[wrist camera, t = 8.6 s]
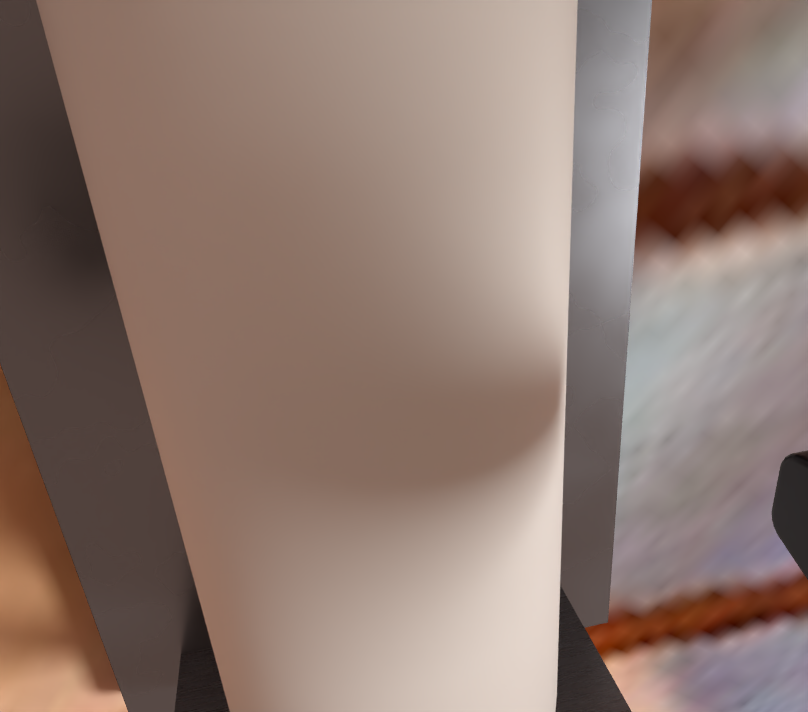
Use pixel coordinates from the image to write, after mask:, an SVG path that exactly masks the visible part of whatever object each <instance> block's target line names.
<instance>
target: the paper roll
mask: <svg viewBox="0 0 808 712" xmlns="http://www.w3.org/2000/svg"><path fill="white" fill-rule="evenodd" d="M36 2H37V6H38V9H39V13H40V17H41V20H42V24H43V28H44V31H45V35H46V39H47V42H48V46H49V50H50V53H51V57H52V61H53V64H54V68H55V72H56V75H57V79H58V83H59V86H60V90H61V94H62V97H63V101H64V105H65V108H66V112H67V116H68V119H69V123H70V127H71V130H72V134H73V138H74V141H75V145H76V149H77V153H78V156H79V160H80V164H81V167H82V171H83V175H84V178H85V182H86V186H87V189H88V193H89V197H90V200H91V204H92V208H93V211H94V215H95V219H96V222H97V226H98V230H99V233H100V237H101V241H102V244H103V248H104V252H105V255H106V259H107V263H108V266H109V270H110V274H111V277H112V281H113V285H114V288H115V292H116V296H117V299H118V303H119V307H120V310H121V314H122V318H123V321H124V325H125V329H126V332H127V336H128V340H129V343H130V347H131V351H132V354H133V358H134V362H135V365H136V369H137V373H138V376H139V380H140V384H141V387H142V391H143V395H144V398H145V402H146V406H147V409H148V413H149V417H150V421H151V424H152V428H153V432H154V435H155V439H156V443H157V446H158V450H159V454H160V457H161V461H162V465H163V468H164V472H165V476H166V479H167V483H168V487H169V490H170V494H171V498H172V501H173V505H174V509H175V512H176V516H177V520H178V523H179V527H180V531H181V534H182V538H183V542H184V545H185V549H186V553H187V556H188V560H189V564H190V567H191V571H192V575H193V578H194V582H195V586H196V589H197V593H198V597H199V600H200V604H201V608H202V611H203V615H204V619H205V622H206V626H207V630H208V633H209V637H210V641H211V644H212V648H213V652H214V655H215V659H216V663H217V666H218V670H219V674H220V677H221V681H222V685H223V689H224V692H225V696H226V700H227V703H228V707H229V711H230V712H555V710H556V698H557V672H558V639H559V605H560V572H561V539H562V505H563V472H564V439H565V405H566V372H567V338H568V305H569V272H570V238H571V205H572V172H573V138H574V105H575V71H576V38H577V5H578V0H36Z"/></svg>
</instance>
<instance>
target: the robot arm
mask: <svg viewBox="0 0 808 712" xmlns="http://www.w3.org/2000/svg"><path fill="white" fill-rule="evenodd" d="M772 521H773V524H774V527H775V530H776V532H777V534H778V536H779V537H780V539H781V540H782V542H783V543H784V545H785V546H786V548H787V549H788V551H789V552H790V554H791V555H792V557H793V558H794V560H795V561H796V563H797V564H798V566H799V567H800V569H801V570H802V572H803V573H804V575H805V576H806V578H807V579H808V451H802V452H797V453H792V454H790V455H788V456H786V457H785V459H784V460H783V462H782V463H781V466H780V471H779V476H778V482H777V487H776V492H775V497H774V502H773V507H772Z"/></svg>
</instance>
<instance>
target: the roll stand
mask: <svg viewBox="0 0 808 712" xmlns="http://www.w3.org/2000/svg"><path fill="white" fill-rule="evenodd" d="M651 7H652V0H578V5H577V38H576V71H575V105H574V138H573V172H572V205H571V238H570V272H569V305H568V338H567V372H566V405H565V439H564V472H563V505H562V539H561V572H560V605H559V639H558V672H557V698H556V710H555V712H631V710H630V708H629V706H628V704H627V703H626V701H625V699H624V697H623V696H622V694H621V692H620V690H619V688H618V687H617V685H616V683H615V681H614V680H613V678H612V676H611V674H610V672H609V671H608V669H607V667H606V665H605V663H604V662H603V660H602V658H601V656H600V655H599V653H598V651H597V649H596V647H595V646H594V644H593V642H592V640H591V639H590V637H589V635H588V633H587V631H586V630H585V628H584V627H589V626H593V625H598V624H602V623H607V622H608V613H609V598H610V584H611V570H612V556H613V542H614V528H615V514H616V500H617V486H618V472H619V458H620V443H621V429H622V415H623V401H624V387H625V373H626V359H627V345H628V331H629V317H630V303H631V289H632V274H633V260H634V246H635V232H636V218H637V204H638V190H639V176H640V162H641V148H642V134H643V120H644V105H645V91H646V77H647V63H648V49H649V35H650V21H651ZM0 364H1V367H2V370H3V372H4V375H5V378H6V381H7V383H8V386H9V389H10V391H11V394H12V397H13V400H14V402H15V405H16V408H17V410H18V413H19V416H20V419H21V421H22V424H23V427H24V429H25V432H26V435H27V438H28V440H29V443H30V446H31V448H32V451H33V454H34V457H35V459H36V462H37V465H38V468H39V470H40V473H41V476H42V478H43V481H44V484H45V487H46V489H47V492H48V495H49V497H50V500H51V503H52V506H53V508H54V511H55V514H56V516H57V519H58V522H59V525H60V527H61V530H62V533H63V536H64V538H65V541H66V544H67V546H68V549H69V552H70V555H71V557H72V560H73V563H74V565H75V568H76V571H77V574H78V576H79V579H80V582H81V584H82V587H83V590H84V593H85V595H86V598H87V601H88V604H89V606H90V609H91V612H92V614H93V617H94V620H95V623H96V625H97V628H98V631H99V633H100V636H101V639H102V642H103V644H104V647H105V650H106V652H107V655H108V658H109V661H110V663H111V666H112V669H113V671H114V674H115V677H116V680H117V682H118V685H119V688H120V691H121V693H122V696H123V699H124V701H125V704H126V707H127V710H128V712H230V711H229V707H228V703H227V700H226V696H225V692H224V689H223V685H222V681H221V677H220V674H219V670H218V666H217V663H216V659H215V655H214V652H213V648H212V644H211V641H210V637H209V633H208V630H207V626H206V622H205V619H204V615H203V611H202V608H201V604H200V600H199V597H198V593H197V589H196V586H195V582H194V578H193V575H192V571H191V567H190V564H189V560H188V556H187V553H186V549H185V545H184V542H183V538H182V534H181V531H180V527H179V523H178V520H177V516H176V512H175V509H174V505H173V501H172V498H171V494H170V490H169V487H168V483H167V479H166V476H165V472H164V468H163V465H162V461H161V457H160V454H159V450H158V446H157V443H156V439H155V435H154V432H153V428H152V424H151V421H150V417H149V413H148V409H147V406H146V402H145V398H144V395H143V391H142V387H141V384H140V380H139V376H138V373H137V369H136V365H135V362H134V358H133V354H132V351H131V347H130V343H129V340H128V336H127V332H126V329H125V325H124V321H123V318H122V314H121V310H120V307H119V303H118V299H117V296H116V292H115V288H114V285H113V281H112V277H111V274H110V270H109V266H108V263H107V259H106V255H105V252H104V248H103V244H102V241H101V237H100V233H99V230H98V226H97V222H96V219H95V215H94V211H93V208H92V204H91V200H90V197H89V193H88V189H87V186H86V182H85V178H84V175H83V171H82V167H81V164H80V160H79V156H78V153H77V149H76V145H75V141H74V138H73V134H72V130H71V127H70V123H69V119H68V116H67V112H66V108H65V105H64V101H63V97H62V94H61V90H60V86H59V83H58V79H57V75H56V72H55V68H54V64H53V61H52V57H51V53H50V50H49V46H48V42H47V39H46V35H45V31H44V28H43V24H42V20H41V17H40V13H39V9H38V6H37V2H36V0H0Z"/></svg>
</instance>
